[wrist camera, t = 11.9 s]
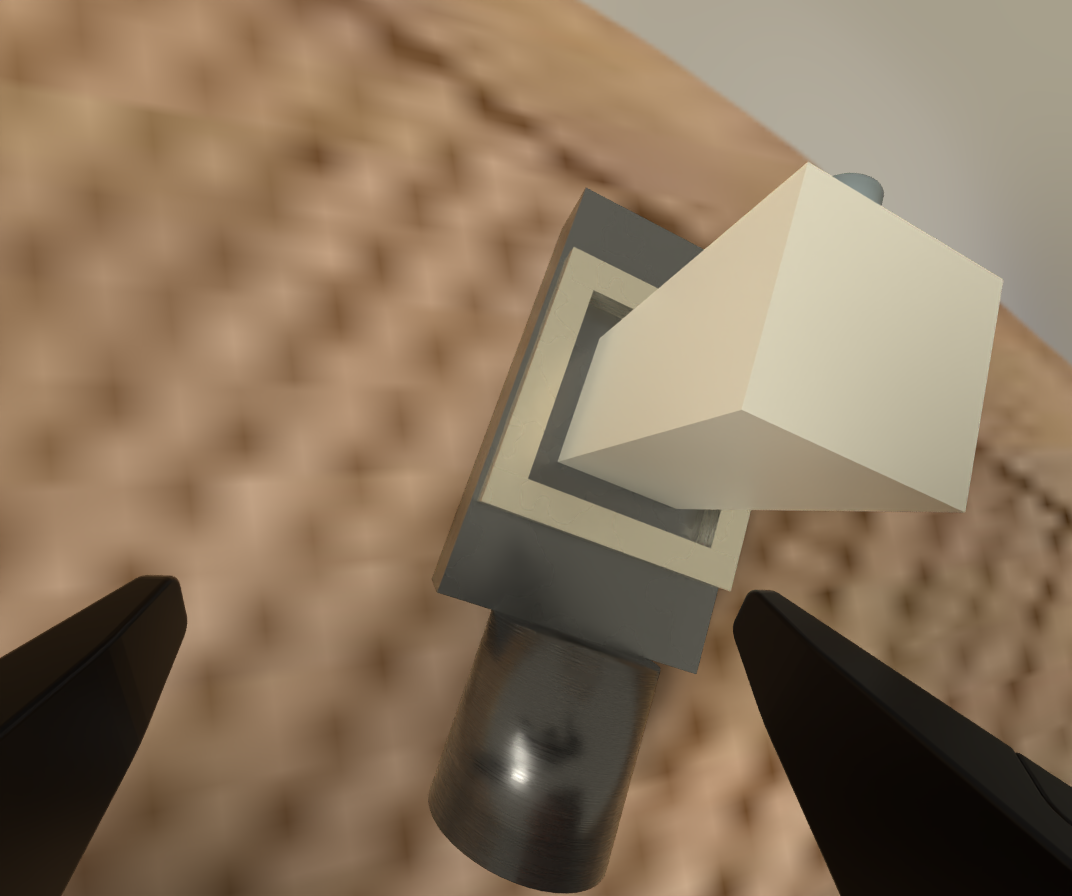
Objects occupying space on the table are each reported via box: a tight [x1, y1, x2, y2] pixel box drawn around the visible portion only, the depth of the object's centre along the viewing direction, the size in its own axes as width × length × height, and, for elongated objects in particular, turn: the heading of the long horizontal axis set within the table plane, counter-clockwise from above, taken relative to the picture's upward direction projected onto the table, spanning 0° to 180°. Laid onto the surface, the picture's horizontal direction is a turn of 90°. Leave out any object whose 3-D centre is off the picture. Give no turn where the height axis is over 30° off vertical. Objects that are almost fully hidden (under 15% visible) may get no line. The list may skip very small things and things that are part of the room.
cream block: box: [558, 162, 1003, 512], centre depth 14 cm, size 7×5×10 cm
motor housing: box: [428, 188, 751, 893], centre depth 18 cm, size 22×10×6 cm, turn 161°
